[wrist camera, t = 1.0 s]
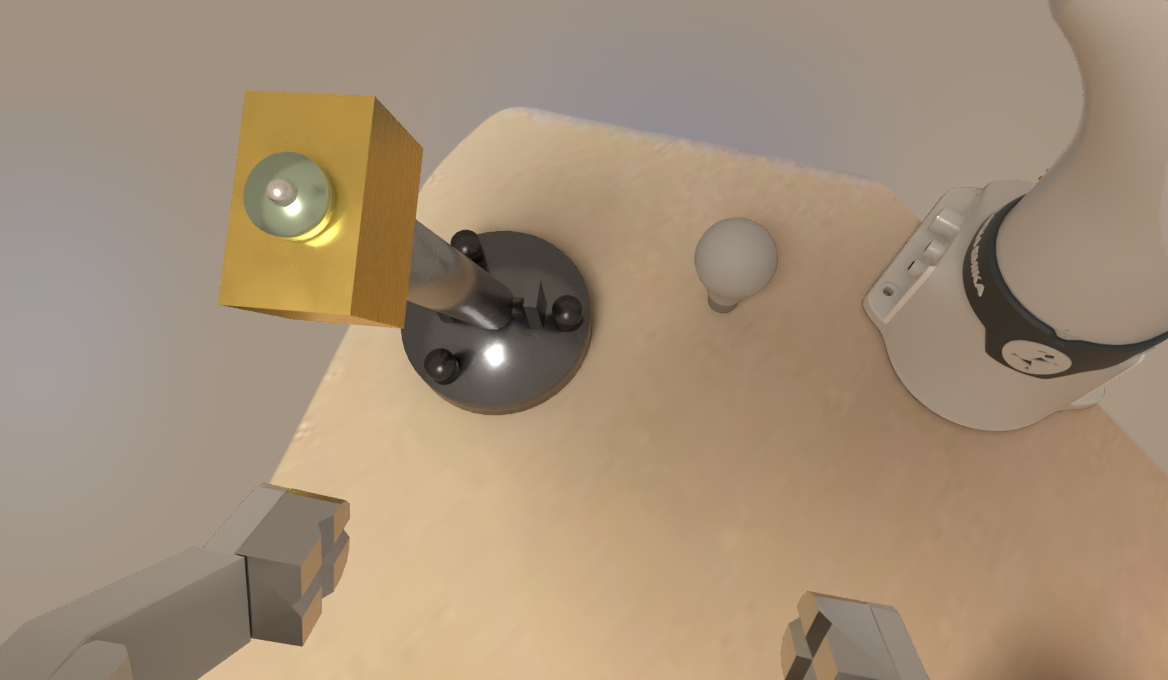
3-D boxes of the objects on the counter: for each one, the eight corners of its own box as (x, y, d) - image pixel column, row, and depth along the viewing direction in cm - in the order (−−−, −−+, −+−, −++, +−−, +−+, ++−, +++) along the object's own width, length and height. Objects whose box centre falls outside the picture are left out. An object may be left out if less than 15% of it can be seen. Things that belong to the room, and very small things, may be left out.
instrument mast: (463, 256, 53) (206, 71, 22) (533, 261, 52) (371, 77, 21) (453, 351, 52) (176, 298, 21) (524, 357, 52) (344, 311, 21)
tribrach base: (432, 243, 60) (406, 196, 53) (600, 254, 58) (597, 208, 51) (394, 406, 54) (359, 377, 47) (580, 423, 52) (573, 397, 45)
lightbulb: (743, 266, 57) (768, 193, 46) (766, 326, 54) (798, 263, 44) (677, 281, 56) (688, 212, 46) (697, 343, 54) (713, 283, 44)
